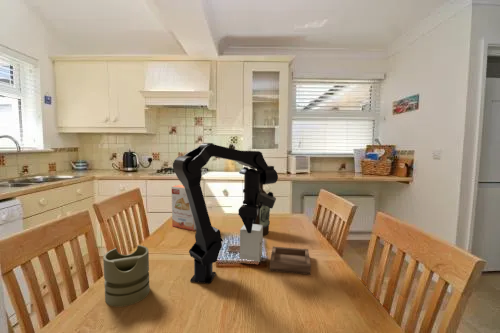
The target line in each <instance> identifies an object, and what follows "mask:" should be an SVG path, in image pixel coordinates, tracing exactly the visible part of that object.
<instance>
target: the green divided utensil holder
mask: <svg viewBox="0 0 500 333" xmlns="http://www.w3.org/2000/svg"><path fill="white" fill-rule="evenodd" d="M149 254H150V253H149V248H148V247H147V246H145V245H141V244H137V248H136V249H135V251H133V252H132V253H129V254H123V253H120V252H118V249H117V247H115V248H113V249H110V250H108V251H107V252H106V253H104V255H103V258H102V259H103V278H104V283H103V284H104V302H105V303H106V305H108V306H110V307H115V308H116V307H117V308H118V307H120V308H122V307H126V306H131V305H134V304H136V303H138V302H141V301H143V299H144V300H145V298H147V296H148V295H149V293H150V272H149V271H150V258H149V256H150V255H149Z"/></svg>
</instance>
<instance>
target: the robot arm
mask: <svg viewBox="0 0 500 333" xmlns="http://www.w3.org/2000/svg"><path fill="white" fill-rule="evenodd" d="M212 157H213V158H218V159H224V160H228V161H233V162H236V163H238V164H240V165H242V166H244V167H242V169H240V171H239V172H238V173H239V174H241V175H244V176H243V179H244V181H243V185H244V186H243V189H242V193H243V200H242V205H241V206H240V207H239V208H238V216H239V217H240V219H241V220H242V222H243V225H245V228H246V230H247V232H248V233H251V231H252V226H253V224H255V222H256V217H257V216H258V210H259V209H260V208H261V207H262V205H265V206H267V207H269V208H270V210H271V209H273V208H274V205H275V203H276V200H277V198H276V197H275V196H274V192H272V191H268V192H266V193H267V194H266V193H262V189H261V188H260V184H261V185H263V186H264V185H271V184H272V185H273V184H276V183H277V181H278V179H279V175H278V173H277V170H276V169H275V165H268V163H267V161H266V159H265V158H264V155H263V152H262V151H259V150H240V149H236V148H231V147H226V146H222V145H218V144H214V143H212V142H203V143H201V144H200V145H198V146H196V148H193V149H192V150H190V151H188V152H186V153H185V154H184V155H179V156H178V157H176V158H175V159H174V161H173V162H172V169H173V171H174V173H175V175H176V177H177V179H178V180H179V182H180V184H181V185H183V186H184V188H185V191H186V194H187V198H188V201H189V204H190V208H191V211H192V215H193V218H194V222H195V225H196V230H195V235H194V239H195V242H194V243H193V245H192V246H191V247H190V249H189V250H188V254H189V255H190V257H191V258H193V272H194V273H193V276H192V277H191V278H190V280H189V282H191V283H198V284H207V285H210V284H211V283H212V282H213V280H214V278H215V276H216V274H217V272H216V271H213V266H214V265H213V264H214V263H217V262H218V258H219V255H220V252H221V249H222V248H223V243H222V242H224V240H223V239H222V238H223V237H222V236H221V234H222V233H221V230H220V229H219V228H216V227H214V226H213V225H212V223H211V222H212V221H211V220H210V215H209V212H208V208H207V204H206V201H205V198H204V194H203V190H202V187H201V181H202V176H203V172H202V169H203V167H205V166H206V165H207V164H208V162H209V161H210V159H211V158H212ZM260 204H261V205H260Z"/></svg>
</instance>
